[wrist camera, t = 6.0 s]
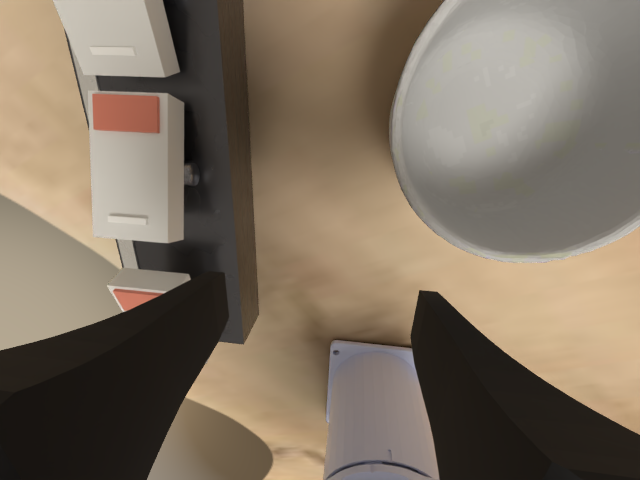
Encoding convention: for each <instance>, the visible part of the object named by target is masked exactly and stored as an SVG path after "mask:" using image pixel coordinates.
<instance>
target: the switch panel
mask: <svg viewBox="0 0 640 480" xmlns="http://www.w3.org/2000/svg"><path fill="white" fill-rule="evenodd" d="M163 4H164V8H165V12H166V16H167V20H168V24H169V28H170V32H171V37H172V41H173V45H174V49H175V53H176V57H177V61H178V65H179V69H180V72H178V73H176V74H173V75H170V76H168V77H135V76H102V75H84V74H83V71H82V69H81V67H80V64H79V62H78V59H77V57H76V55H75V52H74V50H73V48H72V45H71V43H70V40H69V38H68V36H67V33H66V31H65V34H66V38H67V42H68V46H69V51H70V55H71V59H72V63H73V67H74V71H75V75H76V79H77V83H78V87H79V91H80V95H81V100H82V104H83V108H84V112H85V116H86V120H87V124H88V128H89V109H88V90H89V91H117V92H145V93H168V94H170V95H171V96H173V97H175V98H177V99H178V100H180V101H182V102H184V240H180V241H176V242H172V243H158V242H147V241H135V240H123V239H116V243H117V247H118V251H119V255H120V259H121V263H122V267H123V268H132V269H142V270H153V271H163V272H174V273H184V274H189V276H190V279H193V278H195V277H197V276H199V275H201V274H203V273H206V272H208V271H213V272H224V273H225V281H226V291H227V300H228V310H229V319H228V321H227V323H226V326H225V328H224V331H223V333H222V335H221V337H220V340H219V342H228V343H237V344H244V343H245V341H246V339H247V337H248V335H249V333H250V331H251V329H252V327H253V325H254V323H255V321H256V319H257V317H258V315H259V308H258V288H257V269H256V249H255V230H254V210H253V191H252V171H251V152H250V132H249V113H248V93H247V74H246V54H245V35H244V15H243V0H163ZM64 30H65V29H64Z"/></svg>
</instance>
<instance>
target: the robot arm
mask: <svg viewBox="0 0 640 480" xmlns="http://www.w3.org/2000/svg"><path fill="white" fill-rule="evenodd" d="M228 319H229V310H228V300H227V291H226V281H225V273H224V272H213V271H208V272H206V273H203V274H201V275H199V276H197V277H195V278H193V279H191V280H189V281H187V282H185V283H183V284H181V285H179V286H177V287H175V288H173V289H171V290H170V291H168V292H166V293H164V294H162V295H160V296H158V297H155V298H153V299H151V300H149V301H147V302H145V303H143V304H141V305H138V306H136V307H134V308H132V309H130V310H127V311H125V312H123V313H120V314H118V315H116V316H113V317H110V318H108V319H105V320H102V321H100V322H97V323H94V324H92V325H88V326H86V327H82V328H79V329H76V330H73V331H70V332H67V333H64V334H61V335H58V336H55V337H51V338H48V339H44V340H40V341H37V342H33V343H29V344H25V345H21V346H17V347H13V348H9V349H5V350H1V351H0V480H147V478H148V475H149V473H150V470H151V468H152V466H153V463H154V461H155V459H156V457H157V454H158V452H159V450H160V448H161V446H162V443H163V441H164V439H165V437H166V435H167V432H168V430H169V428H170V426H171V424H172V422H173V420H174V418H175V416H176V414H177V411H178V410H179V407H180V405H181V404H182V402H183V400H184V398H185V396H186V395H187V393H188V391H189V389H190V388H191V386H192V384H193V383H194V381H195V380H196V378H197V376H198V375H199V373H200V371H201V370H202V368H203V366H204V365H205V363H206V362H207V360H208V358H209V357H210V355H211V353H212V352H213V350H214V348H215V346H216V345H217V343H218V341H219V340H220V337H221V335H222V333H223V331H224V328H225V326H226V323H227V321H228ZM411 344H412V348H404V347H395V346H386V345H378V344H369V343H360V342H351V341H342V340H334V341H332V342H331V347H330V362H329V378H328V394H327V410H326V422H327V423H329V425H328V435H327V445H326V455H325V465H324V475H323V480H640V435H639V434H637V433H635V432H633V431H631V430H629V429H627V428H625V427H623V426H621V425H620V424H618V423H616V422H614V421H612V420H610V419H609V418H607V417H605V416H603V415H601V414H599V413H597V412H596V411H594V410H592V409H590V408H589V407H587V406H585V405H583V404H582V403H580V402H578V401H576V400H575V399H573V398H571V397H570V396H568V395H567V394H565V393H563V392H562V391H560V390H559V389H557V388H555V387H554V386H552V385H551V384H549V383H547V382H546V381H544V380H543V379H541V378H540V377H538V376H537V375H535V374H534V373H532V372H531V371H530V370H528V369H527V368H525V367H524V366H523V365H521V364H520V363H518V362H517V361H516V360H514V359H513V358H511V357H510V356H509V355H508V354H506V353H505V352H504V351H502V350H501V349H500V348H499V347H498V346H496V345H495V344H494V343H493V342H491V341H490V340H489V339H488V338H487V337H485V336H484V335H483V334H482V333H481V332H480V331H479V330H477V329H476V328H475V327H474V326H473V325H472V324H471V323H470V322H469V321H468V320H466V319H465V318H464V317H463V316H462V315H461V314H460V313H459V312H458V311H457V310H456V309H455V308H454V307H453V306H452V305H451V304H450V303H449V302H448V301H447V300H446V299H444V298H443V297H442V296H441V295H440V294H439V293H438V292H432V291H422V290H419V295H418V301H417V306H416V311H415V316H414V321H413V326H412V331H411ZM335 350H337V351H338V352H335ZM430 427H431V428H430ZM432 436H433V437H432Z"/></svg>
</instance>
